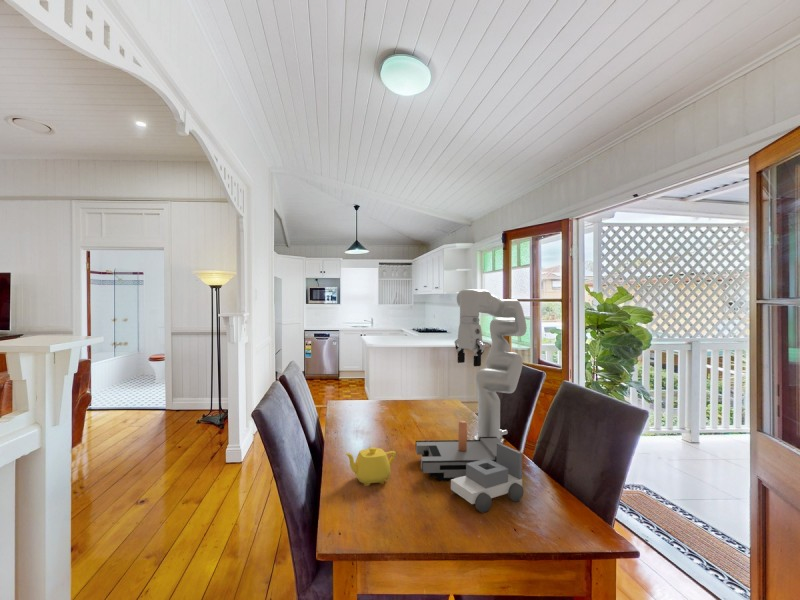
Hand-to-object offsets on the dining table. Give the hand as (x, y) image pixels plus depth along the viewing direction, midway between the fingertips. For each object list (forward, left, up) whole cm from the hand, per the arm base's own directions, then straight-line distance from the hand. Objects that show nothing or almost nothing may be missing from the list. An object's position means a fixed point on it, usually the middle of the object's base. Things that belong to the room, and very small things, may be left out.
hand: (468, 364), depth 148 cm
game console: (+9, +7, -37) cm, 39 cm away
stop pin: (+9, +7, -30) cm, 32 cm away
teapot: (+42, 0, -37) cm, 56 cm away
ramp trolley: (+15, +27, -36) cm, 48 cm away
